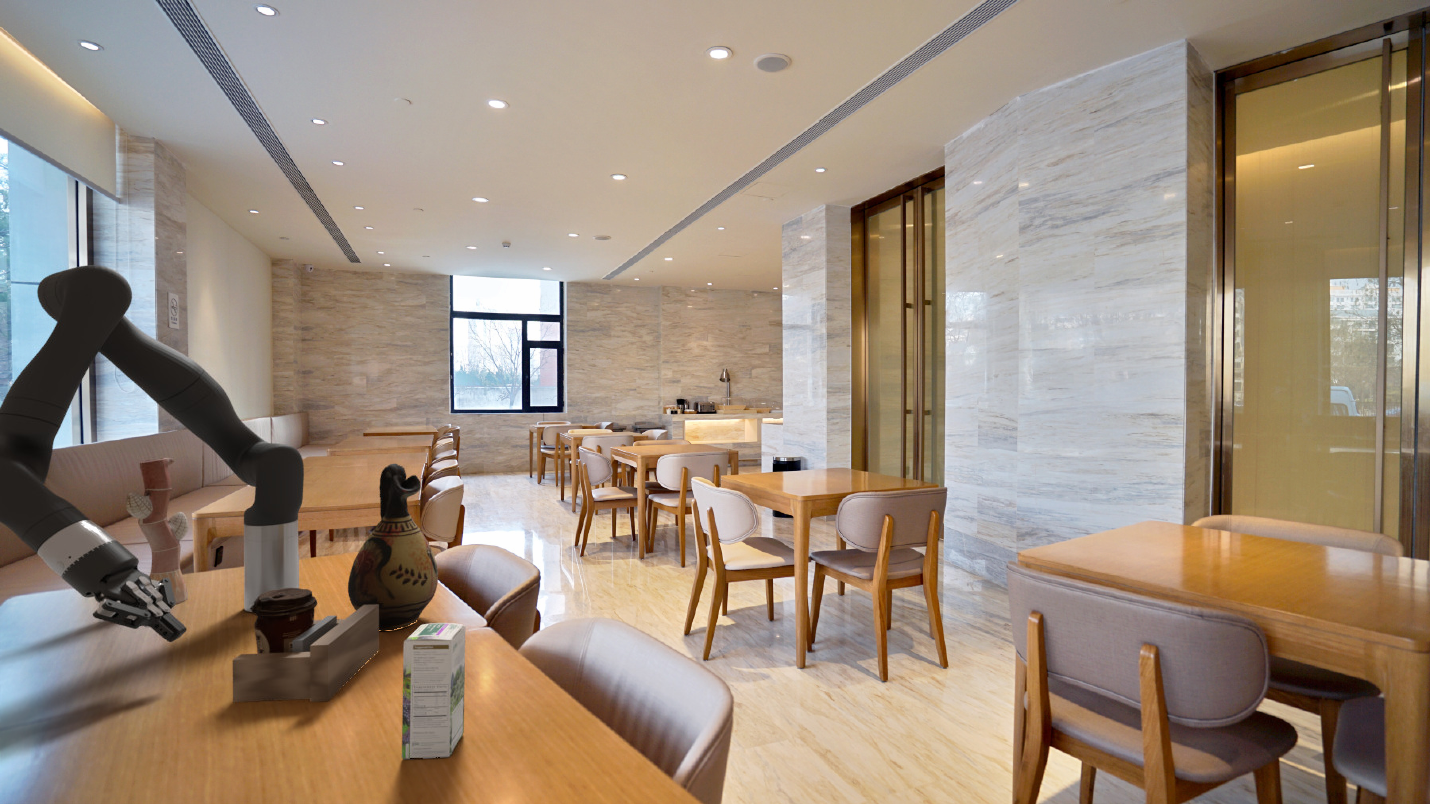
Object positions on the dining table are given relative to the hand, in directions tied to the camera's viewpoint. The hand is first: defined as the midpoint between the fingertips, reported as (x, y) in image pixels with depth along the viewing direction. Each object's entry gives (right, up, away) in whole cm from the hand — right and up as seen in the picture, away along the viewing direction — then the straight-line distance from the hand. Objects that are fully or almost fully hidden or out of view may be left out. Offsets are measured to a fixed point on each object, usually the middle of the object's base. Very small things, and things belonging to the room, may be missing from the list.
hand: (179, 636), depth 100 cm
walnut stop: (+19, -7, +2) cm, 20 cm away
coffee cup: (+15, -7, +2) cm, 17 cm away
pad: (+19, -6, +2) cm, 21 cm away
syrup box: (+46, -7, -18) cm, 50 cm away
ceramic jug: (+19, -7, +26) cm, 33 cm away
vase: (-34, -6, +37) cm, 50 cm away
